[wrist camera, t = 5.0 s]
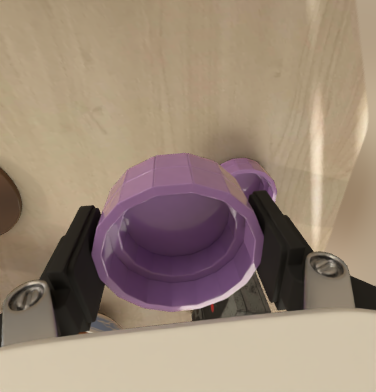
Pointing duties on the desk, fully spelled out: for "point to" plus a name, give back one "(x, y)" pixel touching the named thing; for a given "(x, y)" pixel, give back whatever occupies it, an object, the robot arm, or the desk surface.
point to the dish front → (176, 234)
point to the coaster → (8, 203)
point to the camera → (237, 303)
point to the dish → (250, 176)
